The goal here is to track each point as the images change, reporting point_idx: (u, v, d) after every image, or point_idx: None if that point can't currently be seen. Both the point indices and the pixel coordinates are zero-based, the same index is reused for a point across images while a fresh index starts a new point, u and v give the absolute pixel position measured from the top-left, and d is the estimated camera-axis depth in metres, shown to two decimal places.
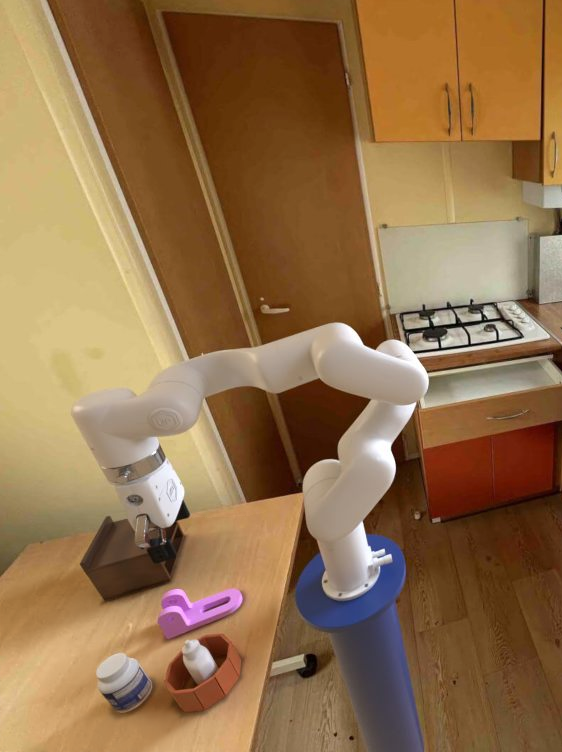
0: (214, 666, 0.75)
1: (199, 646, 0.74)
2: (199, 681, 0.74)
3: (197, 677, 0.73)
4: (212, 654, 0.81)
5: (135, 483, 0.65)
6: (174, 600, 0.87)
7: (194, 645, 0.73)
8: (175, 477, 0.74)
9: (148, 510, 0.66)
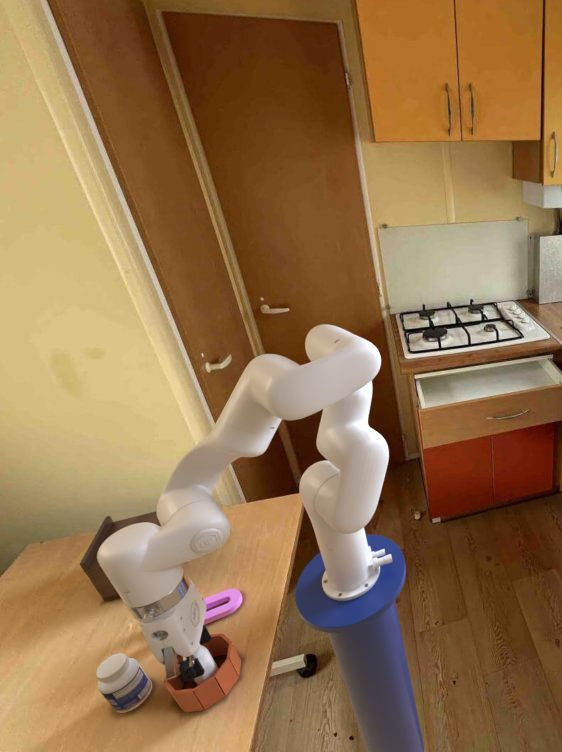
0: (214, 666, 0.75)
1: (199, 646, 0.74)
2: (199, 681, 0.74)
3: (197, 677, 0.73)
4: (212, 654, 0.81)
5: (160, 618, 0.64)
6: None
7: None
8: (198, 596, 0.73)
9: (172, 643, 0.66)
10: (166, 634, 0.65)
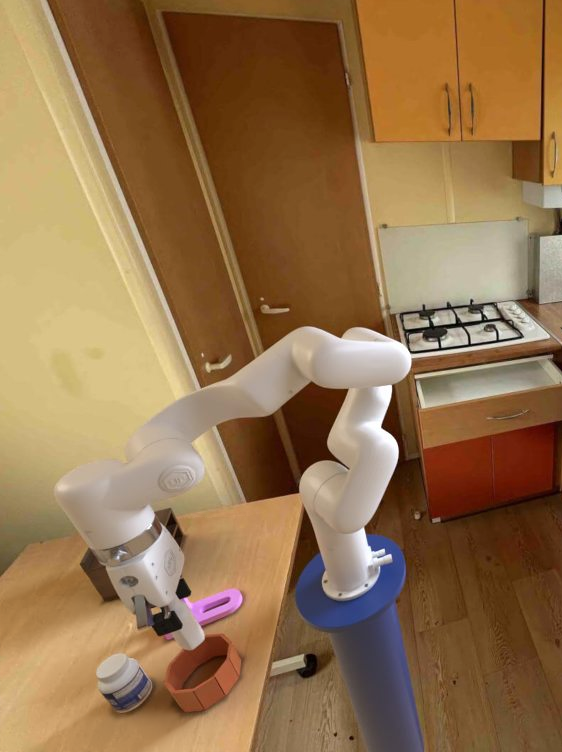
0: (194, 621, 0.70)
1: (177, 599, 0.68)
2: (178, 637, 0.69)
3: (175, 632, 0.68)
4: (212, 654, 0.81)
5: (129, 563, 0.59)
6: None
7: None
8: (174, 545, 0.68)
9: (143, 591, 0.60)
10: (136, 581, 0.60)
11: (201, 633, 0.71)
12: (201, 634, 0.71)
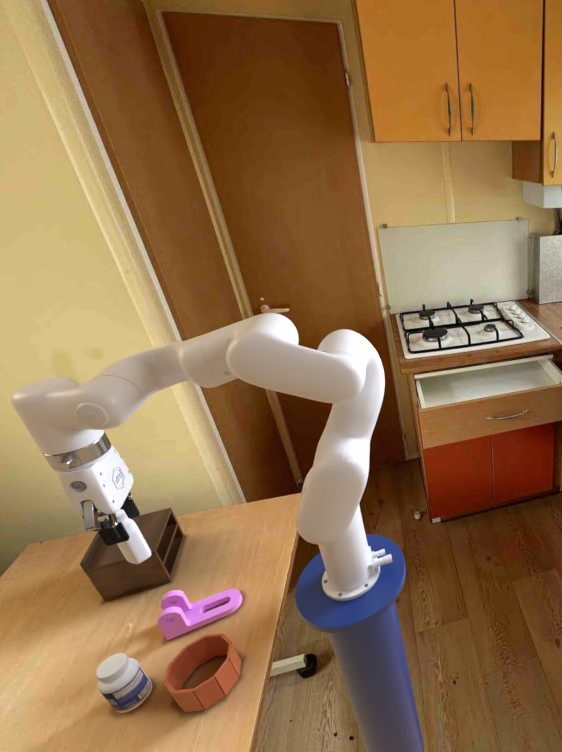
0: (140, 537, 0.78)
1: (124, 515, 0.76)
2: (125, 550, 0.77)
3: (122, 545, 0.76)
4: (212, 654, 0.81)
5: (78, 470, 0.67)
6: (174, 601, 0.87)
7: (119, 513, 0.75)
8: (123, 466, 0.76)
9: (91, 496, 0.68)
10: (85, 487, 0.68)
11: (147, 549, 0.79)
12: (148, 550, 0.79)
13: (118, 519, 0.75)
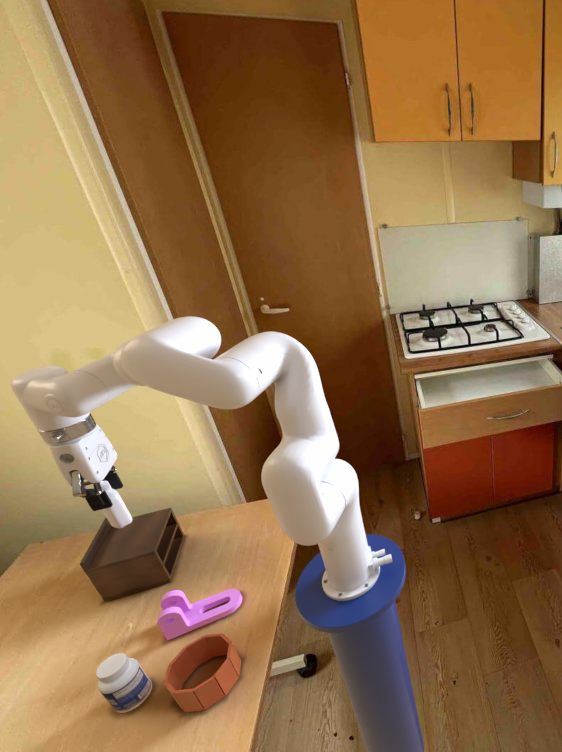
0: (122, 505, 0.90)
1: (108, 485, 0.89)
2: (109, 515, 0.89)
3: (107, 511, 0.89)
4: (212, 654, 0.81)
5: (67, 444, 0.79)
6: (173, 601, 0.87)
7: (103, 483, 0.88)
8: (107, 443, 0.88)
9: (78, 467, 0.81)
10: (73, 459, 0.81)
11: (129, 516, 0.92)
12: (129, 517, 0.92)
13: (103, 488, 0.88)
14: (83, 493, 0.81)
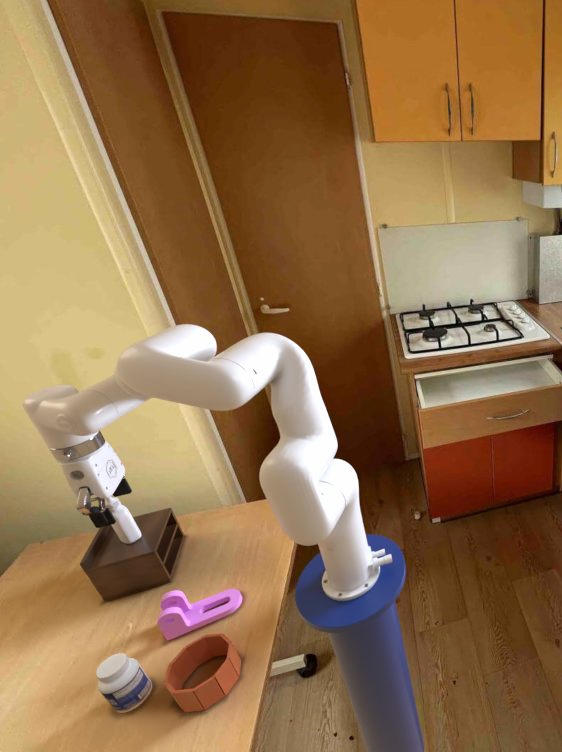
0: (132, 521, 0.92)
1: (118, 502, 0.91)
2: (119, 531, 0.91)
3: (117, 527, 0.91)
4: (212, 654, 0.81)
5: (77, 461, 0.81)
6: (173, 601, 0.87)
7: (114, 500, 0.90)
8: (116, 458, 0.90)
9: (88, 483, 0.83)
10: (83, 476, 0.82)
11: (138, 531, 0.94)
12: (138, 532, 0.94)
13: (113, 505, 0.90)
14: (86, 507, 0.81)
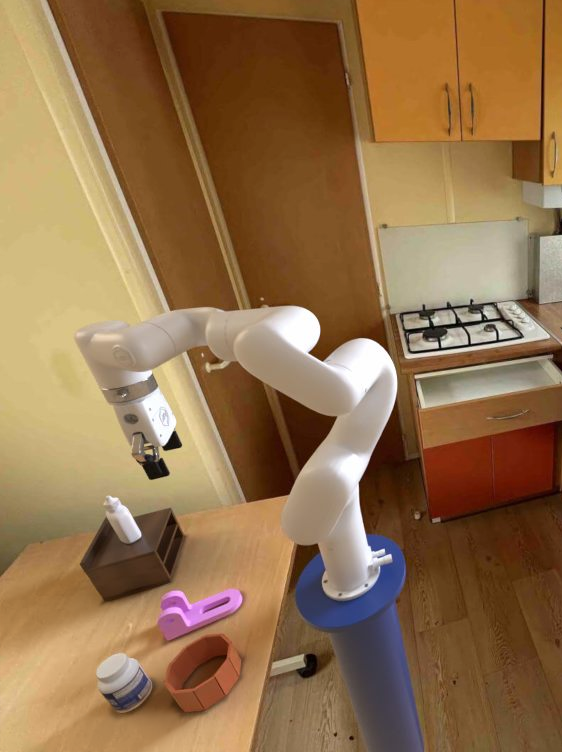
0: (132, 521, 0.92)
1: (118, 502, 0.91)
2: (119, 531, 0.91)
3: (117, 527, 0.91)
4: (212, 654, 0.81)
5: (131, 404, 0.74)
6: (173, 602, 0.87)
7: (114, 500, 0.90)
8: (167, 407, 0.83)
9: (142, 429, 0.76)
10: (137, 421, 0.76)
11: (138, 531, 0.94)
12: (138, 532, 0.94)
13: (113, 505, 0.90)
14: (141, 454, 0.75)
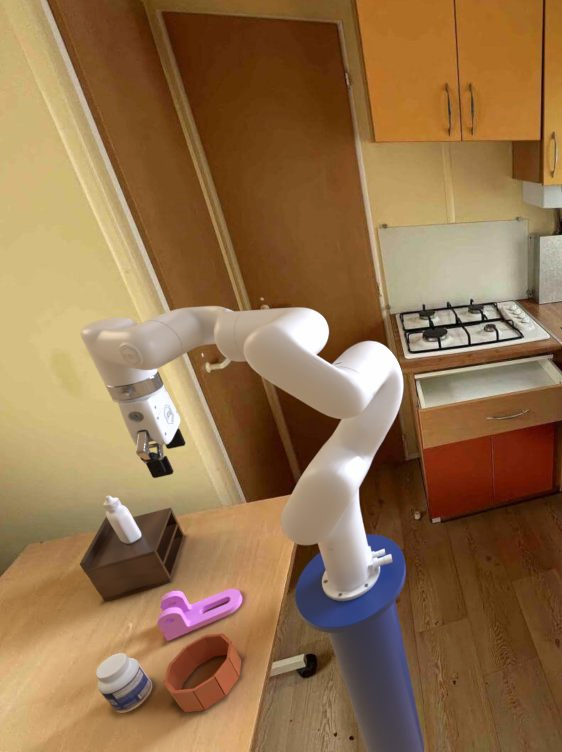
0: (132, 521, 0.92)
1: (118, 502, 0.91)
2: (119, 531, 0.91)
3: (117, 527, 0.91)
4: (212, 654, 0.81)
5: (136, 401, 0.74)
6: (173, 602, 0.87)
7: (114, 500, 0.90)
8: (172, 405, 0.83)
9: (147, 427, 0.76)
10: (142, 418, 0.75)
11: (138, 531, 0.94)
12: (138, 532, 0.94)
13: (113, 505, 0.90)
14: (146, 452, 0.74)
